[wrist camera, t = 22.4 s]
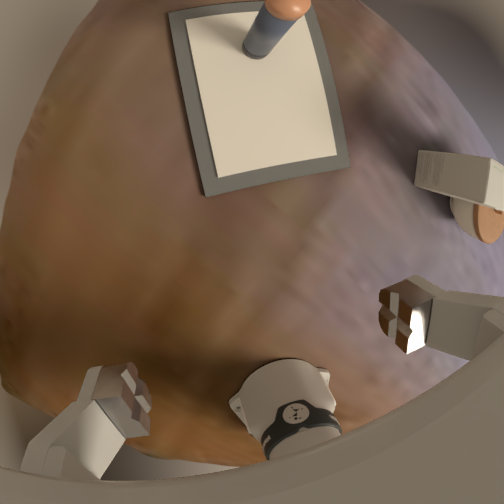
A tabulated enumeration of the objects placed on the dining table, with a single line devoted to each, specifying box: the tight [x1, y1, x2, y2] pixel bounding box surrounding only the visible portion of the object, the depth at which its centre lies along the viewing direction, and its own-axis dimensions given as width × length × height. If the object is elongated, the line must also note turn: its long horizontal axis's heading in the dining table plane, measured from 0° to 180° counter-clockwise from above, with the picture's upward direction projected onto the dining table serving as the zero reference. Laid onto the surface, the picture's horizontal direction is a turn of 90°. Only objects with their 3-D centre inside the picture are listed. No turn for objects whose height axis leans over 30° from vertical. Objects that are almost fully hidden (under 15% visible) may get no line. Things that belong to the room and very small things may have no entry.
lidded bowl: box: [450, 197, 504, 244], centre depth 39 cm, size 13×13×11 cm
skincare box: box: [414, 150, 504, 212], centre depth 34 cm, size 8×7×16 cm
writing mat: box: [168, 1, 350, 197], centre depth 32 cm, size 26×20×1 cm
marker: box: [242, 0, 311, 60], centre depth 23 cm, size 4×4×14 cm
